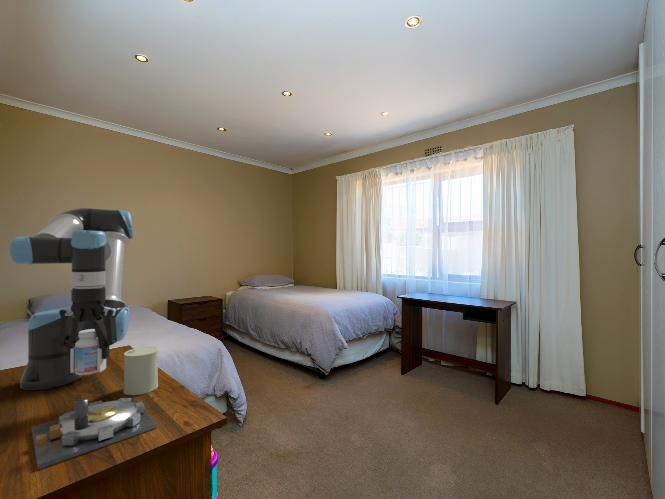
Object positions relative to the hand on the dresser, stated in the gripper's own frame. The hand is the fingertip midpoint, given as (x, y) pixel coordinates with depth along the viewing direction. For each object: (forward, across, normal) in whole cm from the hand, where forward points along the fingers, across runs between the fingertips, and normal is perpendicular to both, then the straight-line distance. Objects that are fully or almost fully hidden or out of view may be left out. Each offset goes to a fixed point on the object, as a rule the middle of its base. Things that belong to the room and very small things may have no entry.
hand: (88, 370), depth 89 cm
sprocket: (+8, +11, -13) cm, 18 cm away
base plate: (+9, +11, -13) cm, 19 cm away
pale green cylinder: (+10, +9, +9) cm, 16 cm away
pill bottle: (+1, 0, 0) cm, 1 cm away
